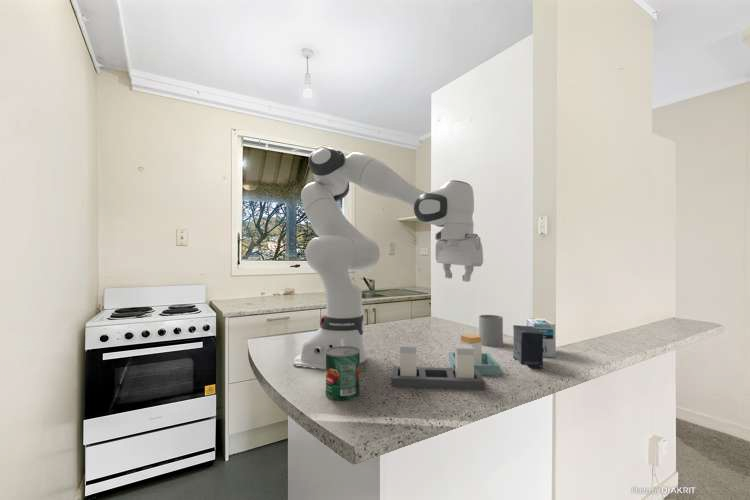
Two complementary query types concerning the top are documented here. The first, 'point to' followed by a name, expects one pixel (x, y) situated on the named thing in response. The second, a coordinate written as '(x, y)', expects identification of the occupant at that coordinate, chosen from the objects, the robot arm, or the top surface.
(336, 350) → the canned tomato
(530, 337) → the small box
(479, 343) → the block
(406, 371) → the block
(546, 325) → the light bulb box
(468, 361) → the block
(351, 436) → the top surface
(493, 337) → the cup
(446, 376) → the block
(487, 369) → the tray
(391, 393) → the top surface
